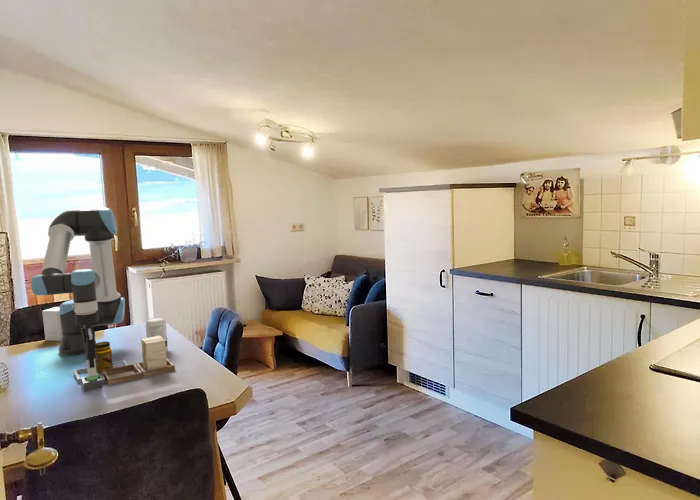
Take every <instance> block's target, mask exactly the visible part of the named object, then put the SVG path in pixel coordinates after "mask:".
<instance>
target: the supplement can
mask: <svg viewBox="0 0 700 500" xmlns="http://www.w3.org/2000/svg"><path fill="white" fill-rule="evenodd" d="M145 334H146V338H149V337H154V336H161V337H162V338H163V339H164V340H165V346H166V353H167V352H168V351H169V348H168V334H167V321H166V320H165V318H164V317H153V318H152V317H151V318H149V319H146V323H145Z"/></svg>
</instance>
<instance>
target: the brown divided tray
mask: <svg viewBox="0 0 700 500" xmlns="http://www.w3.org/2000/svg"><path fill="white" fill-rule="evenodd" d="M166 359H167V366H166V367H162V368H157V369H152V370H148V371H145V369H144V367H143V361H141V362H135V363H130V364H128V365H125V364H124V365H121V366H116V367H113V368H110V369H106V370H102V371H103V372H102V374H103V376H104V378H105V384H107V386H113V385H117V384H122V383H126V382H130V381H135V380H139V379H143V378H148V377H153V376H156V375H157V376H158V375H162V374H166V373H170V372H175V371H176V368H175V367H176V366H175V364H174V363H173V362H172V361H171V360H170V359H168V357H166Z"/></svg>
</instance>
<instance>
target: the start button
mask: <svg viewBox="0 0 700 500" xmlns="http://www.w3.org/2000/svg"><path fill="white" fill-rule="evenodd" d="M86 376H87V377H86V378H87V381H92V380H96V379H99V375H98V373H97V375H95V376H90V377H88V375H86Z"/></svg>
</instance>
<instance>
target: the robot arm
mask: <svg viewBox="0 0 700 500" xmlns="http://www.w3.org/2000/svg"><path fill="white" fill-rule="evenodd" d="M117 226H118V225H117V220H116V217H115V214H114V212H113V210H112V209H111V208H110V207H109V208H108V207H92V208H91V207H90V208H87V207H86V208H71V209H68V210H66V211H65V210H64V211H63V212H62V213H60V214H58V216H56V217H55V218H54V220H53V221H52V222H51V223H50V225H49V227H48V231H47V234H48V235H47V236H48V237H49V240H48V244H47V249H46V251H45V256H44V260H43V263H42V268H41V272H40V274H38V275H36V274H35V275H33V276H32V277H31V280H30V287H31V292H32V293H33V294H34V295H35V296H50V295H51V296H52V295H64V294H72V299H70V300H66V301H64V302H62V303H61V304H60V305H59V307H60V314H59V315H60V321H61V330H62V338H61V341H59V342H60V344H59V346H58V353H59V355H61V356H77V355H82V354H85V358H84V360H85V361H86V367H87V370H88V372H87V376H88V377H90V376H95V375H97V374H98V372H96V361H95V358H96V353H95V344H96V343H97V341H96V338H95V337H96V334H95V333H96V329H95V327H97V326H98V327H99V326H109V325H113V326H114V325H116V324H121V323H122V322H123V321H124V320H125V319H124V318H125V312H126V311H125V310H126V309H125V307H126V301H125V300H126V298H125V297H122V296H121V293H120V292H118V291H117V282H116V276H115V275H116V274H115V266H114V265H115V263H114V258H113V250H112V249H113V248H112V247H113V246H112V241H113V240H114V239H115V235H116V234H118V227H117ZM81 236H83V237H84V241H85V242H87V243H88V244H89V251H90V258H91V259H90V260H91V266H92V269H91V268H83V269H81V268H80V269H76V270H73V271H72V272H65V271H66V266H67V261H68V257H69V256H68V255H69V251H70V245H71V241H73V240H74V239H75V237H81Z"/></svg>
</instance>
